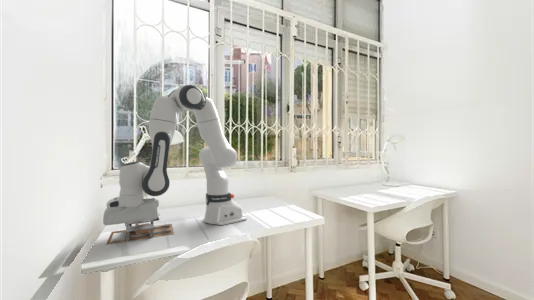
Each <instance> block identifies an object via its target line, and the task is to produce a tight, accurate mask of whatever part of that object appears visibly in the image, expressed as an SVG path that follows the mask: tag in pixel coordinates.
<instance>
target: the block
mask: <svg viewBox="0 0 534 300" xmlns="http://www.w3.org/2000/svg"><path fill="white" fill-rule="evenodd" d="M147 224H150V222H147V223H140V224H138V226H139V225H147ZM143 233H149V229H144V230H136V234H143Z"/></svg>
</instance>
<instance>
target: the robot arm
mask: <svg viewBox="0 0 534 300" xmlns="http://www.w3.org/2000/svg"><path fill="white" fill-rule="evenodd" d="M189 111H191V112H192V113H193V114H194V116H195V121H196V124H197V128H198V131H199V136H200V138H201V139H202V141H204V143H206V145H207V146H204V147H203V148H201V149H200V151H199V154H198V159H199V161H200V162H201V163H202V166H203V169H204V173H205V178H206V193H205V205H206V206H205V213H204V217H203V222H204V223H206V224H210V225H218V226H225V225H228V224H234V223H238V222H242V221H246V220H247V214H245V213H244V212H243V208H242V206H241V205H240V204H239V203H238V202H236V201H235V200H233V199H234V198H235V194H233V193H231V192H229V179H228V175H227V174H226V173H225V170H224V169H225V168H226V169H228V168H232V167H233V166H235V165H236V163H237V161H238V153H237V151H236V150H235V149H234V148H233V147H232V146H231V144H229V142H228V140H227V138H226V136H225V135H224V132H223V128H222V125H221V122H220V117H219V113H218V110H217V108H216V106H215V104H214V102H213V100H212V99H211V98H209V97H206V96H205V94H204V93H203V91H202V90H201V89H200V87H198V86H196V85H193V84H186V85H183V86H179V87H177V88H176V89H174V90H172V91H171V93H169V95H168V96H166V95H164V96H163V95H162V96H161V95H160V96H158V97H156V99H155V100H154V102H153V104H152V108H151V111H150V116H149V121H148V133H149V134H148V136H149V138H150V142H151V148H152V149H151V158H150V162H149V163H150V164H149V165H147V164H145V163H143V162H141V161H137V160H136V161H131V162H125V163H124V164H123V165H121V167H120V168H119V169H120V170H119V177H118V178H119V179H118V180H119V181H118V182H119V187H120V190H119V195H118V196H117V197H113V198H111V199H108V200H107V202H106V209H105V210H104V212H103V217H102V224H103V225H104V226H111V225H120V224H124V226H125V228H127V227H130V226H129V223H130V222H135V224H134V226H138V225H140V223H139V221H146V220H155V219H157V218H158V217H159V213H158V207H159V204H160V200H158V199H157V198H155V197H159V196H163V194H165V193H166V192H167V191H168V190H169V188H170V185H171V184H170V178H169V175H168V171H167V170H168V169H167V168H168V162H169V161H168V160H169V152H170V147H171V145H172V141H173V138H174V136H175V132H176V129H177V123H178V122H177V121H178V117H179V115H180V112H189ZM144 193H145V194H147V196H151V198H144ZM131 232H136V231H129V233H131Z"/></svg>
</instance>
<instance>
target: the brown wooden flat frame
mask: <svg viewBox="0 0 534 300" xmlns="http://www.w3.org/2000/svg"><path fill="white" fill-rule="evenodd" d="M145 223H146V224H147V225H141V224H145ZM148 223H149V224H148ZM135 225H136V224H135V222H130V223H129V226H130V227H125V229H122V230H121V229H120V230H114V231H111V233H110V234H109V236H108V239H107V242H106V243H105V245H106V246H107V245H112V244H113V245H114V244H120V243H125V242H126V243H127V242H132V241H139V240H146V239H153V238H159V237H166V236H171V235H175V231H174V228H173V223H167V224H166V223H165V224H159V225H158V224H157V225H154V221H153V220H146V221H139V224H138V225H139V226H135ZM144 229H149V233H143V234H136V232H131V233H129V231H136V230H144ZM119 233H120V234H121V233H125V237H124V239H120V240H119V239H118V240H112V239H113V236H114V234H119Z"/></svg>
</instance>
